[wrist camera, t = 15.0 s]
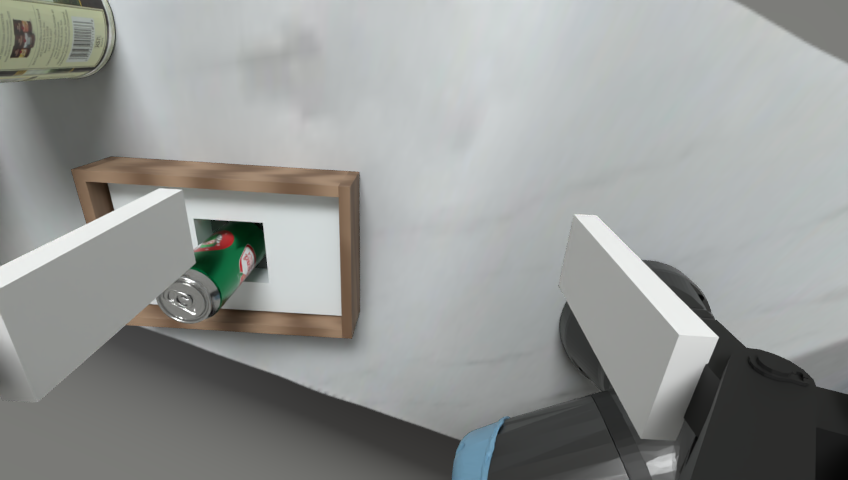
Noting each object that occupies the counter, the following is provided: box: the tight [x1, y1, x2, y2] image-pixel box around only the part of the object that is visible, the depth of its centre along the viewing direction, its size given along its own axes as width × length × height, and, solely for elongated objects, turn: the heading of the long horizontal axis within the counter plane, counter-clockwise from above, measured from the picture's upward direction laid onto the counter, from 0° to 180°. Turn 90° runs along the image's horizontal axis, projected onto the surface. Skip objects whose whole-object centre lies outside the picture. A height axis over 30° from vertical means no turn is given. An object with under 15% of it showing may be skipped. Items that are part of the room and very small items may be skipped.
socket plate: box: [108, 183, 342, 316], centre depth 43 cm, size 21×13×3 cm, turn 87°
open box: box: [71, 157, 360, 339], centre depth 42 cm, size 24×16×5 cm, turn 87°
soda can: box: [156, 221, 266, 324], centre depth 39 cm, size 5×5×12 cm
